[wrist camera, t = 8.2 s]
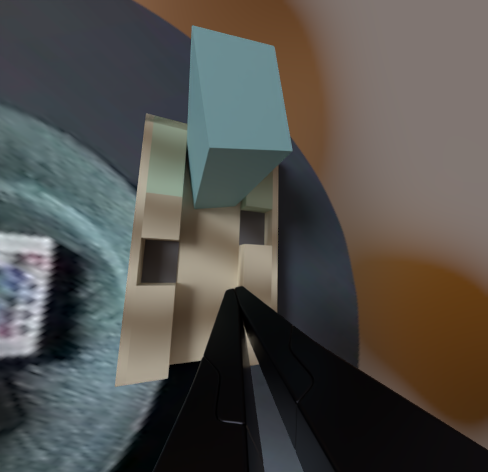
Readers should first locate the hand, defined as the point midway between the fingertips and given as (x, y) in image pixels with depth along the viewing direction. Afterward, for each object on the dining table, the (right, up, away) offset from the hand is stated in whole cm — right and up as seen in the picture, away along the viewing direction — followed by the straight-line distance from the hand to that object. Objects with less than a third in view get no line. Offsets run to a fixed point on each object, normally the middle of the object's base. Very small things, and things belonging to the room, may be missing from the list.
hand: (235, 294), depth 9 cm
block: (-3, +8, +9) cm, 12 cm away
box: (-3, +2, +9) cm, 9 cm away
